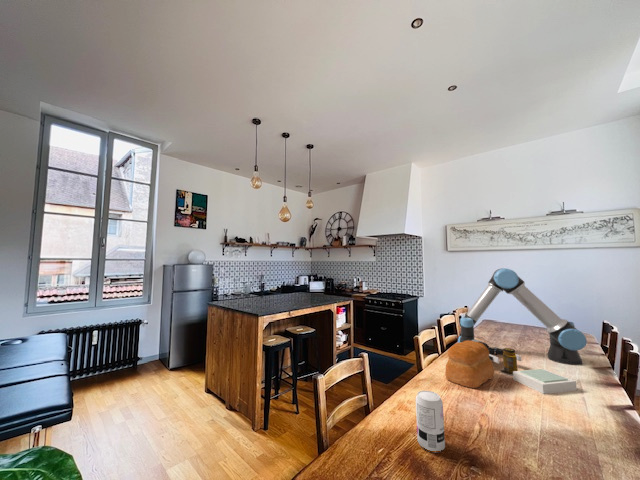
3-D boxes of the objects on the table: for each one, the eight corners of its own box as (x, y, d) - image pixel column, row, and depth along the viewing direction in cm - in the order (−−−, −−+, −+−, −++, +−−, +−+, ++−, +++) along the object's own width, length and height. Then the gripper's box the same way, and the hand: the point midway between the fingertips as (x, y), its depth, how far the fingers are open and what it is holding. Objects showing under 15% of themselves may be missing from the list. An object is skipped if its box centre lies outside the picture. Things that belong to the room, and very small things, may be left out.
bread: (442, 380, 132) (440, 344, 134) (465, 367, 148) (463, 335, 150) (476, 391, 120) (473, 352, 122) (497, 376, 136) (494, 341, 138)
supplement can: (413, 437, 88) (411, 390, 90) (436, 435, 89) (434, 389, 90) (424, 454, 80) (422, 402, 82) (450, 452, 81) (447, 401, 82)
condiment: (521, 373, 139) (519, 349, 141) (514, 376, 135) (512, 352, 136) (505, 368, 145) (503, 346, 147) (498, 372, 141) (496, 349, 142)
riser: (543, 376, 134) (542, 367, 135) (576, 390, 120) (575, 379, 120) (513, 379, 131) (512, 370, 132) (543, 394, 116) (542, 383, 117)
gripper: (497, 352, 162) (530, 365, 141) (461, 355, 158) (489, 368, 137) (496, 340, 163) (529, 350, 142) (460, 342, 159) (488, 353, 138)
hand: (509, 359), depth 140 cm, fingers open, 13 cm apart
